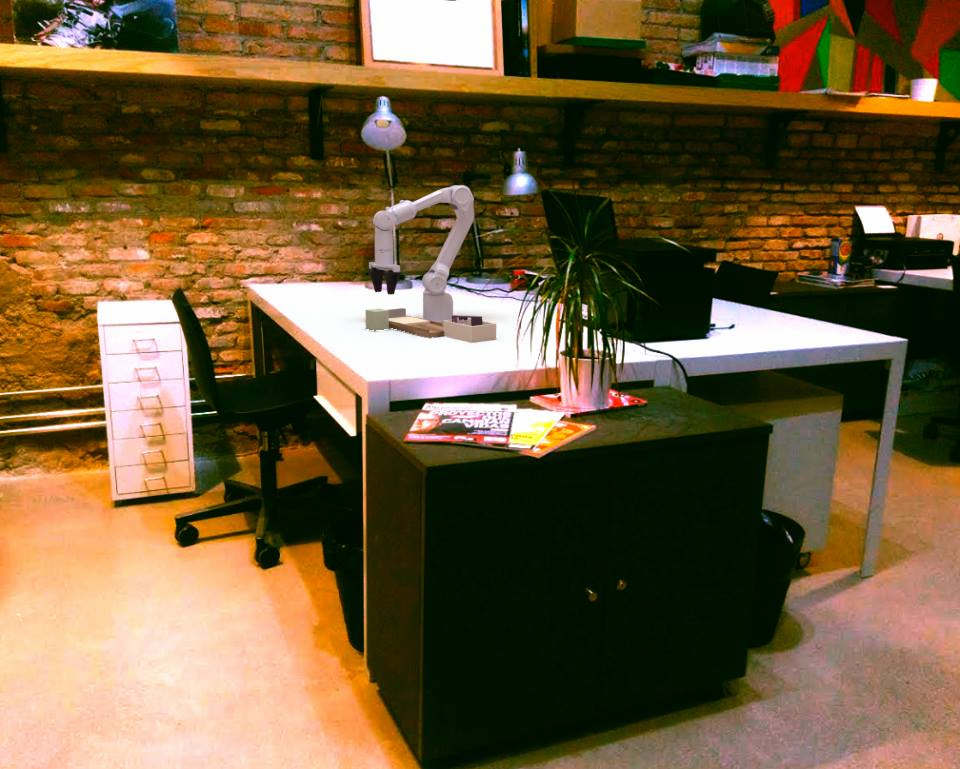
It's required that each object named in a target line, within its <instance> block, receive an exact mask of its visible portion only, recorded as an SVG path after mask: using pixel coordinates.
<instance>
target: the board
mask: <svg viewBox="0 0 960 769" xmlns="http://www.w3.org/2000/svg"><path fill="white" fill-rule="evenodd" d="M408 316H409V317H412V315H411V316H410V315H408ZM413 317H414V318H418V319H421V318H422V317H421V318H420V317H415V316H413ZM423 320H425V319H423ZM428 321H430V320H428ZM389 328H393V329H397V330H396V331H398V330H401V331H400V332H402V331H405V332H404V333H406V332H409V333H408V334H410V333H412V334H411V335H414V334H417V335H416V336H419V335H421V336H420V337H423V336H424V337H423V338H427V337H428V338H427V339H432V337H434V338H441V337H445V336H444V331H443V322H435V321H430V323H428V324H419V325H405V324H401V323H397V322H392V321H389ZM393 329H392V330H393Z"/></svg>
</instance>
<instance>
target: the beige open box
mask: <svg viewBox="0 0 960 769" xmlns="http://www.w3.org/2000/svg"><path fill="white" fill-rule="evenodd" d="M482 321H483V325H478V326H471V318H468V319H467V320H464V319H462V320H459V319H458V320H457V323H454V320H453V322H452V320H445V321H443V322H442V323H443V331H444V336H443V337H445V336H446V337H445V338H452V339H454V340H459V341H463V342H467V343H468V342H469V343H478V342H486V341H493V340H497V323H494V322H491V321H490V322H489V321H484V320H482ZM459 323H460V324H459ZM461 323H464V324H466V325H464V324H461Z"/></svg>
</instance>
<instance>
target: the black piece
mask: <svg viewBox="0 0 960 769" xmlns="http://www.w3.org/2000/svg"><path fill="white" fill-rule="evenodd" d="M468 318H470V319H471V326H478V325H483V321H484V320H483V316H481V315H480V316H478V315H477V316H475V315H459V314H457V315H454V314H453V315H452V322H453V320H454V323H457V320H458V319H459V320H462V319H464V320H467V319H468ZM459 324H460V323H459ZM461 324H464V323H461ZM464 325H466V324H464Z"/></svg>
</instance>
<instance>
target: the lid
mask: <svg viewBox="0 0 960 769" xmlns="http://www.w3.org/2000/svg"><path fill="white" fill-rule="evenodd" d="M387 310H388V311H389V321H392V322H397V323H401V324H405V325H419V324H428V323H430V321H428V320H423V319H418V318H419V317H416V318H414V317H415V316H411V317H409V316H410V315H407V311H406V310H407V308H404V307H402V308H392V309H390V308H389V309H387Z"/></svg>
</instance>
